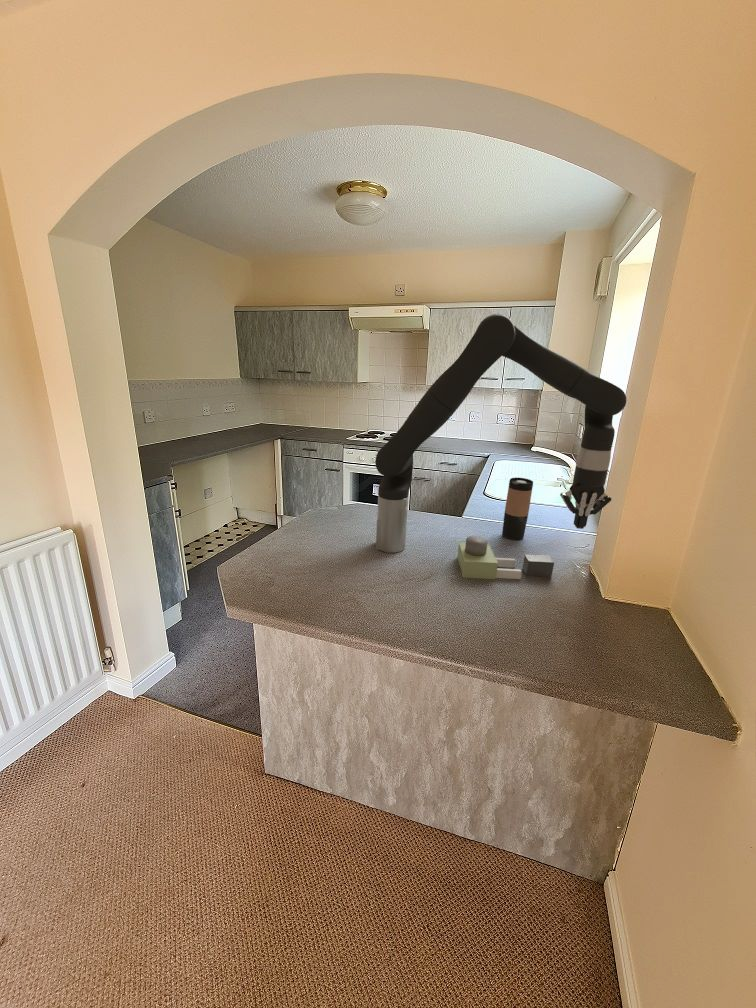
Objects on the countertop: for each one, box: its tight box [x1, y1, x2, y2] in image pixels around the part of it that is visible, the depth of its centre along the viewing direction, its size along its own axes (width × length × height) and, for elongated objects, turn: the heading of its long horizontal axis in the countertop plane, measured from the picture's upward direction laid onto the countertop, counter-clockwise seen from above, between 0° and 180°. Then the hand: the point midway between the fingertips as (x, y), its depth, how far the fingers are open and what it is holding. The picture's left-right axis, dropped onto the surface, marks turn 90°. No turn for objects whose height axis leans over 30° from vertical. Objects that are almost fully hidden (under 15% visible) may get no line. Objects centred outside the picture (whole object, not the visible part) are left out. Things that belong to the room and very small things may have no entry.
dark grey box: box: [521, 554, 555, 579], centre depth 116 cm, size 7×4×5 cm, turn 87°
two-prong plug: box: [456, 535, 523, 580], centre depth 117 cm, size 16×12×8 cm
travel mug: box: [501, 477, 534, 541], centre depth 138 cm, size 8×8×20 cm
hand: (579, 527), depth 111 cm, fingers closed
